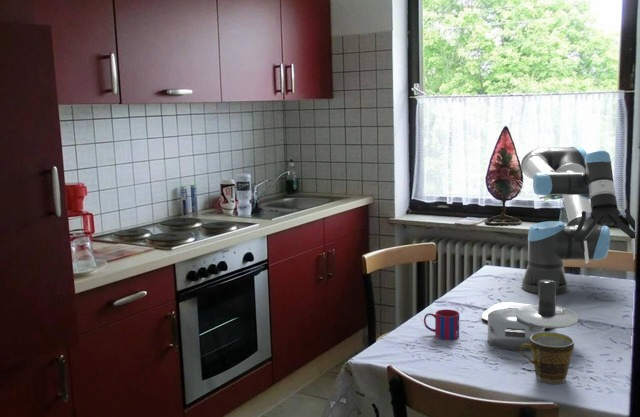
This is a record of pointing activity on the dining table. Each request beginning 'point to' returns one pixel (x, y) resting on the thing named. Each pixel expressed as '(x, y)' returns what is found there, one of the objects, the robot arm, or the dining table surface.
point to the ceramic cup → (550, 356)
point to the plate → (502, 306)
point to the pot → (509, 330)
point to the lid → (547, 310)
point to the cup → (445, 324)
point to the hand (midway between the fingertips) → (611, 261)
